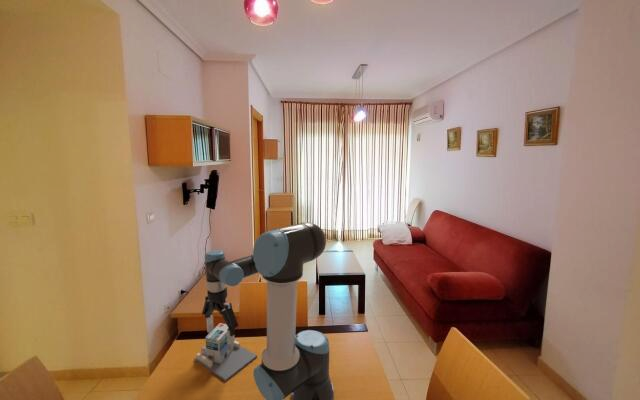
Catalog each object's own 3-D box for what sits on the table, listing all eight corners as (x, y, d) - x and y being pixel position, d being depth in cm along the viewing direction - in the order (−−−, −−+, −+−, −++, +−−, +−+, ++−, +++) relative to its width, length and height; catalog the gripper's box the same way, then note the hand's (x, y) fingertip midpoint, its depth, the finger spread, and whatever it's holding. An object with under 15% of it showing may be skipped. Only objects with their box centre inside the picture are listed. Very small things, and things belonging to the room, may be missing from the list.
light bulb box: (220, 364, 119) (219, 340, 118) (206, 361, 121) (204, 337, 119) (235, 347, 130) (233, 324, 128) (221, 344, 131) (219, 322, 129)
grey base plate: (257, 357, 125) (256, 346, 124) (225, 381, 112) (224, 370, 111) (226, 339, 136) (225, 330, 135) (194, 360, 123) (193, 349, 122)
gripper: (245, 292, 116) (248, 342, 120) (206, 277, 130) (210, 322, 134) (229, 300, 110) (233, 352, 113) (190, 284, 124) (194, 330, 127)
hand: (220, 336), depth 124 cm, fingers open, 13 cm apart
